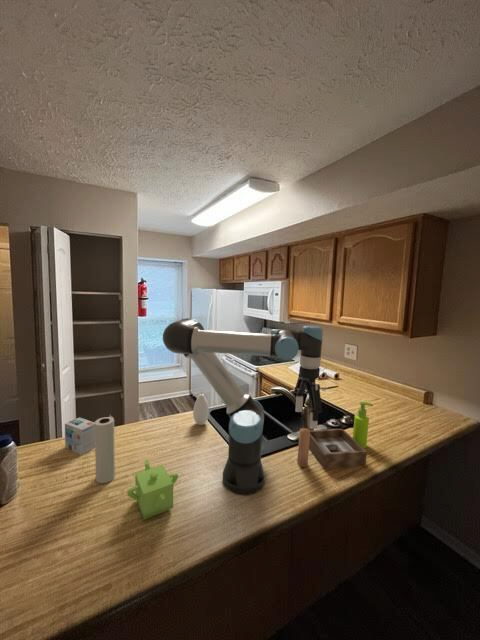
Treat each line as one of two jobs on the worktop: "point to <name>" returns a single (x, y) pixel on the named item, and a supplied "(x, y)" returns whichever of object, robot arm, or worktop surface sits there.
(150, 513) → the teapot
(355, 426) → the soap dispenser
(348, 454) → the box
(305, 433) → the peg
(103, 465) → the paper towel roll
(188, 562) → the worktop surface
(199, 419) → the sauce bottle
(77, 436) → the light bulb box
